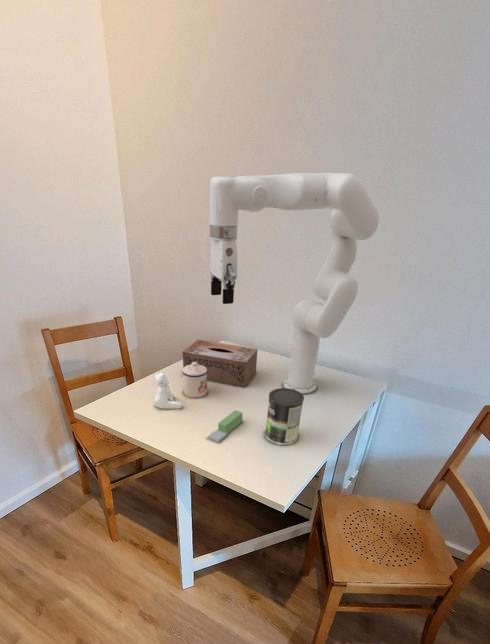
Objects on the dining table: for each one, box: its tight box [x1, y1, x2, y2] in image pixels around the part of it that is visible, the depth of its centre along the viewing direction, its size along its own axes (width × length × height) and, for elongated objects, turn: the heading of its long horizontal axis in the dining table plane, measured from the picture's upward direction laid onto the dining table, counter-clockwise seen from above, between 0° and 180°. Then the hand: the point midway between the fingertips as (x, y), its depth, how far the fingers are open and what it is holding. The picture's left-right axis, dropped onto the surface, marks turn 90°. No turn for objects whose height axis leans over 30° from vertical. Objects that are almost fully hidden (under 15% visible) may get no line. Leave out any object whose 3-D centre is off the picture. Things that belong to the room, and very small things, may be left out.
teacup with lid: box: [181, 362, 208, 398], centre depth 140 cm, size 12×9×12 cm
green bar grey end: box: [208, 409, 243, 443], centre depth 122 cm, size 14×4×4 cm, turn 147°
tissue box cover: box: [182, 339, 258, 388], centre depth 152 cm, size 26×14×10 cm, turn 70°
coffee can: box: [264, 387, 305, 446], centre depth 117 cm, size 10×10×14 cm
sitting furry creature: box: [153, 372, 182, 410], centre depth 131 cm, size 10×9×12 cm
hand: (221, 299), depth 115 cm, fingers open, 9 cm apart
